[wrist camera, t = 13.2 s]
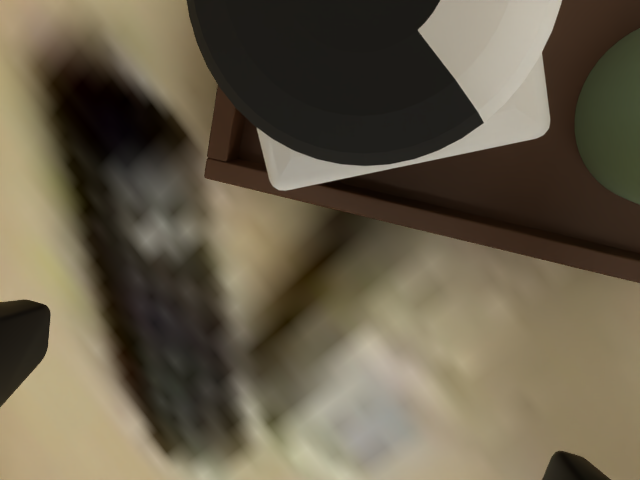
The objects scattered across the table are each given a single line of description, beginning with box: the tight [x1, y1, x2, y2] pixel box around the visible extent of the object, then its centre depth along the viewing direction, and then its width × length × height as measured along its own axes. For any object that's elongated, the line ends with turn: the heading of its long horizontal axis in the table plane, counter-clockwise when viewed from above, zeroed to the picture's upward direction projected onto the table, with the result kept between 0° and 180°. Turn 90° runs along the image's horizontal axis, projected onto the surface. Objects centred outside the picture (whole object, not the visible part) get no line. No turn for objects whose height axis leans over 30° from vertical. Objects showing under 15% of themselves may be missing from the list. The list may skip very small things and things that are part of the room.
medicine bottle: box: [187, 0, 562, 191], centre depth 13 cm, size 7×7×12 cm
